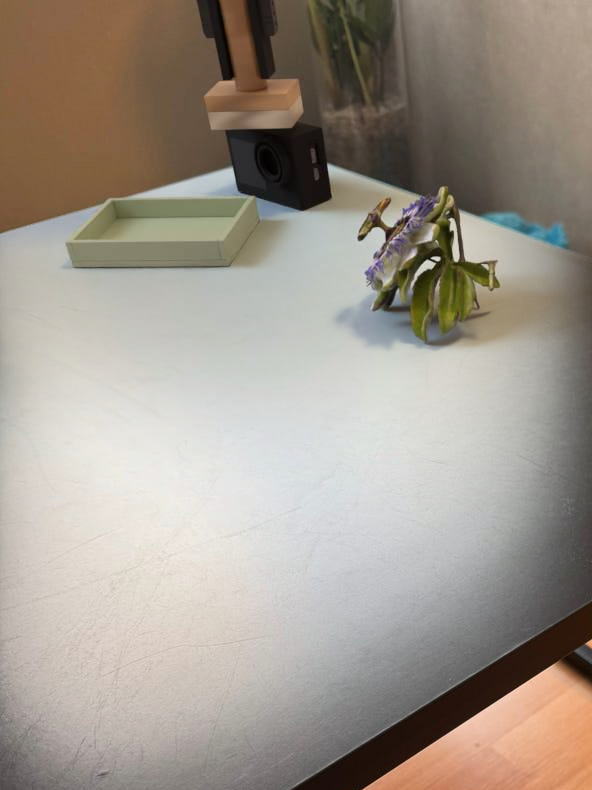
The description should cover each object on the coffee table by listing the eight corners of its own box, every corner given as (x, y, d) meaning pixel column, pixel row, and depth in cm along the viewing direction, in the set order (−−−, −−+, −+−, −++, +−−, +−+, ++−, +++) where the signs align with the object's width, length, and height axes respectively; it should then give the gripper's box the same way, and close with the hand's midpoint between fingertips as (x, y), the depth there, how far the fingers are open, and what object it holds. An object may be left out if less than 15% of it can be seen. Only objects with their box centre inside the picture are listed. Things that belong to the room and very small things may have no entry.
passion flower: (395, 367, 89) (361, 229, 87) (515, 336, 87) (483, 195, 86) (372, 351, 78) (332, 192, 76) (510, 315, 76) (472, 152, 75)
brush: (211, 130, 97) (179, -16, 89) (225, 114, 101) (196, -28, 92) (291, 128, 96) (267, -20, 88) (303, 112, 100) (281, -32, 92)
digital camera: (227, 195, 107) (212, 124, 102) (266, 179, 110) (253, 110, 105) (293, 215, 102) (280, 141, 97) (332, 198, 105) (321, 126, 100)
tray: (72, 267, 95) (64, 242, 93) (115, 221, 103) (108, 197, 101) (229, 266, 93) (223, 240, 92) (260, 220, 101) (255, 195, 100)
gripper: (297, -263, 82) (340, 62, 98) (108, -250, 83) (180, 67, 99) (274, -259, 76) (323, 84, 92) (72, -246, 78) (155, 89, 94)
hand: (249, 75), depth 96 cm, fingers closed on brush, 3 cm apart
